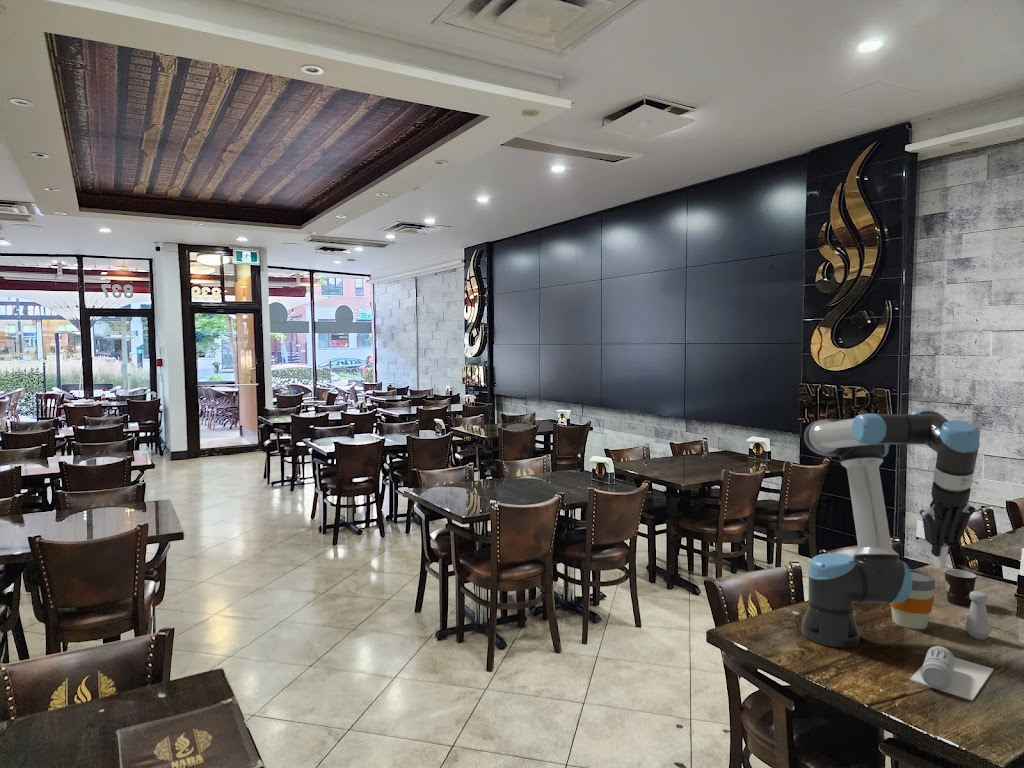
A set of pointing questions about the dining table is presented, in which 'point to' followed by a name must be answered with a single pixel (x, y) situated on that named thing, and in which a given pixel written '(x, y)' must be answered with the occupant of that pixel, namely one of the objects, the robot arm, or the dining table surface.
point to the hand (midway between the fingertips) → (938, 564)
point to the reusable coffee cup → (915, 602)
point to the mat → (962, 679)
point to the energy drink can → (938, 667)
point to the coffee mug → (959, 586)
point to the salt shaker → (978, 616)
